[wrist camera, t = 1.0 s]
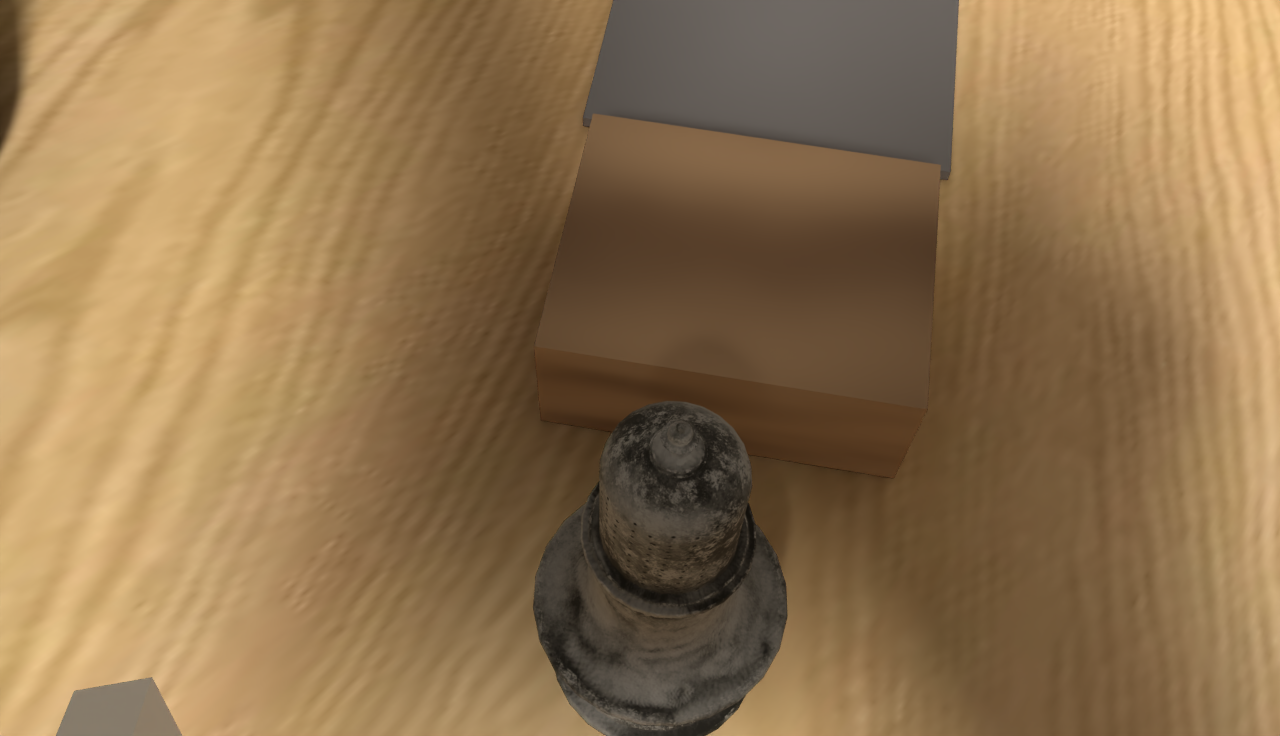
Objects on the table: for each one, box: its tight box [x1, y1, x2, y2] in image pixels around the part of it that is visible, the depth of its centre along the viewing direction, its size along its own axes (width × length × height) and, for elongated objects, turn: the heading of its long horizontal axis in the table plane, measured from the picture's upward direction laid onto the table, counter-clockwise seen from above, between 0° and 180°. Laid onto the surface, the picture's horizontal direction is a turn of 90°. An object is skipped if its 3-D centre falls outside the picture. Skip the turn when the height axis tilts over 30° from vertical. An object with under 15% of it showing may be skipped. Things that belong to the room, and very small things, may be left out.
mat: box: [583, 0, 959, 180], centre depth 42 cm, size 12×12×1 cm
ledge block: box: [534, 113, 941, 478], centre depth 34 cm, size 8×10×4 cm
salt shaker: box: [533, 401, 787, 736], centre depth 25 cm, size 6×6×12 cm
